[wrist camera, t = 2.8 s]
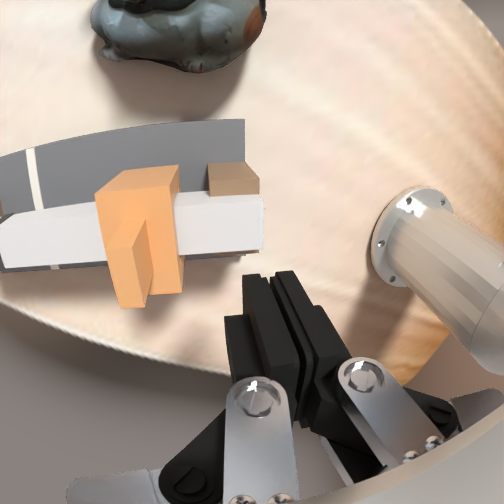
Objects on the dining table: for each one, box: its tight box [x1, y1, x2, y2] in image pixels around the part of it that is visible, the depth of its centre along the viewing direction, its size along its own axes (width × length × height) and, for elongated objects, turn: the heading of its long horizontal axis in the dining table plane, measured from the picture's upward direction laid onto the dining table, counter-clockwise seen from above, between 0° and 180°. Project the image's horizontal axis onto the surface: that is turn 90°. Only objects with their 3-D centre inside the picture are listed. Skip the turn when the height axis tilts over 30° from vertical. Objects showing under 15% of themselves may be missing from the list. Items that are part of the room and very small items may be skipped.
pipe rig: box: [0, 119, 264, 273], centre depth 20 cm, size 27×12×10 cm, turn 90°
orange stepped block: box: [94, 165, 185, 308], centre depth 16 cm, size 4×6×10 cm, turn 0°
